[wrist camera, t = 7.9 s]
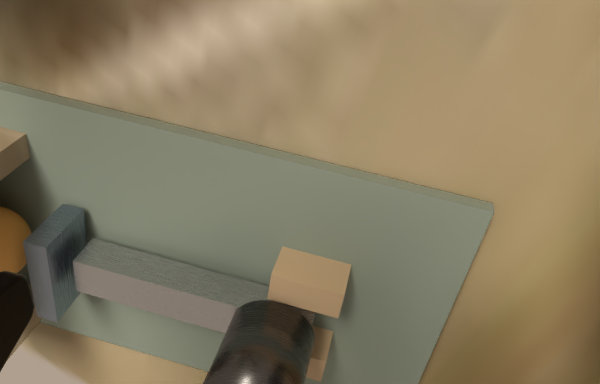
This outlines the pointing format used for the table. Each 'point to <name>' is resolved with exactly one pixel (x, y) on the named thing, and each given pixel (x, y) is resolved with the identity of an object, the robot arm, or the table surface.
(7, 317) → the robot arm
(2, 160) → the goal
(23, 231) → the ball
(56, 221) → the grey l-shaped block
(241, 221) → the pitch
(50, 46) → the table surface
